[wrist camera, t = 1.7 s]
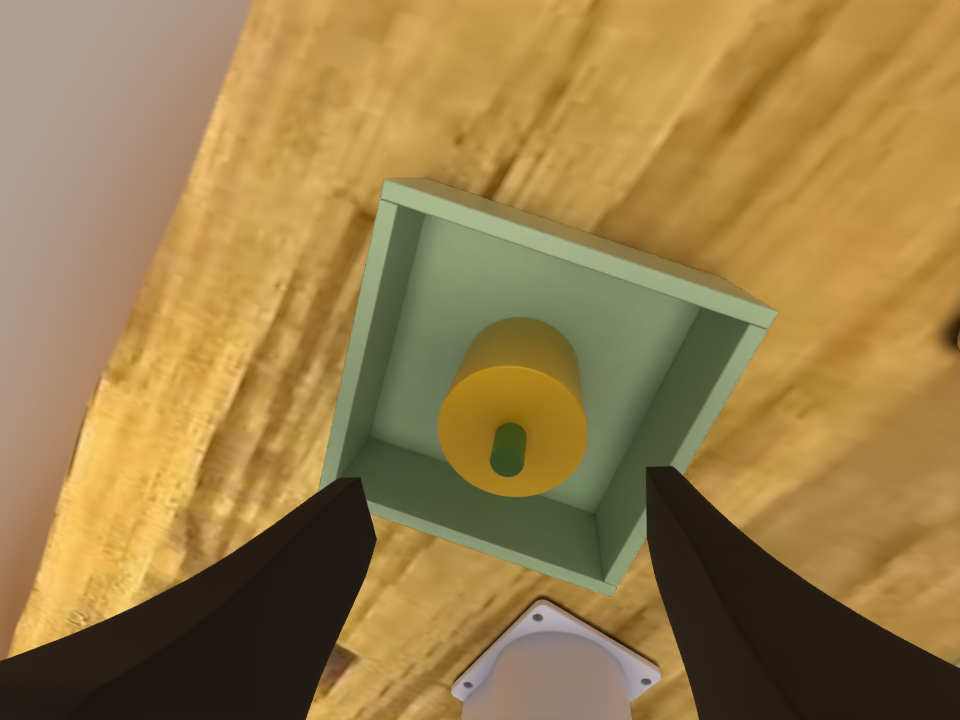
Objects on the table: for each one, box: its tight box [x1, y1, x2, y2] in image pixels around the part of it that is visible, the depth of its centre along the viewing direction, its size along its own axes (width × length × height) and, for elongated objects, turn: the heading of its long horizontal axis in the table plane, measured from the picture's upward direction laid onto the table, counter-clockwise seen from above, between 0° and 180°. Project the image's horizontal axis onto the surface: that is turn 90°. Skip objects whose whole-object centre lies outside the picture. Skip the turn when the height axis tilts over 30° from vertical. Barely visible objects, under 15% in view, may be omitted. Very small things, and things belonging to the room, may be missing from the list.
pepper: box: [438, 318, 588, 497], centre depth 17 cm, size 5×5×7 cm
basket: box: [318, 177, 778, 597], centre depth 18 cm, size 12×12×5 cm
